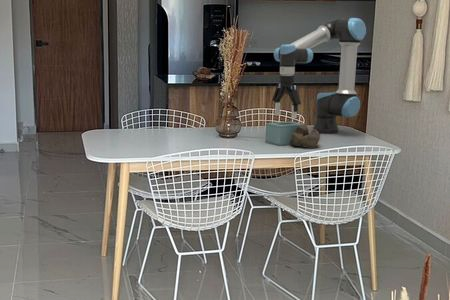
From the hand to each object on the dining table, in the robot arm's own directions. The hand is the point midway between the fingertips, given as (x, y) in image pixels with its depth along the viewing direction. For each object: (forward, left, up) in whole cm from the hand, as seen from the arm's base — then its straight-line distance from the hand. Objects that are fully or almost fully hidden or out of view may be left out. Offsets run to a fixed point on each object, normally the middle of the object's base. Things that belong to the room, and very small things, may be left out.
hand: (285, 116), depth 306 cm
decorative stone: (-3, +14, -14) cm, 20 cm away
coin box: (0, 0, -14) cm, 14 cm away
